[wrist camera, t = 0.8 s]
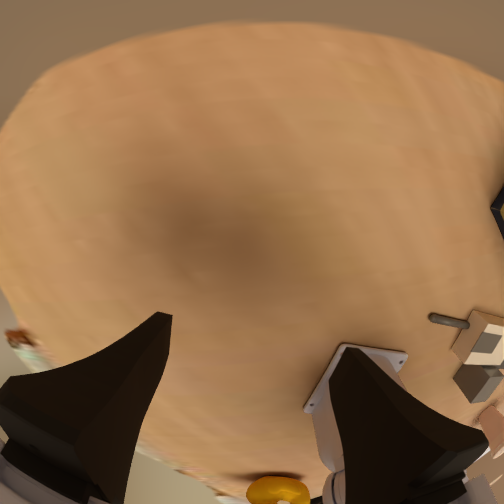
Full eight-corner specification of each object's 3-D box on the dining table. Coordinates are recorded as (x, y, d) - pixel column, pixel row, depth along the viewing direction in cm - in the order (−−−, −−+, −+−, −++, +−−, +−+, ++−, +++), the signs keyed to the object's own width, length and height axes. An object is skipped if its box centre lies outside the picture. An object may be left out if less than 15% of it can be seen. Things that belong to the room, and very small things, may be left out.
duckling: (231, 481, 32) (228, 532, 23) (235, 468, 31) (231, 526, 21) (302, 483, 33) (306, 532, 23) (311, 470, 31) (318, 524, 22)
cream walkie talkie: (488, 352, 24) (501, 366, 21) (413, 343, 23) (427, 364, 20) (507, 319, 23) (522, 332, 19) (436, 299, 22) (455, 317, 18)
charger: (468, 378, 26) (485, 401, 21) (452, 378, 25) (470, 403, 21) (489, 346, 24) (509, 368, 19) (474, 344, 24) (496, 368, 19)
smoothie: (481, 407, 28) (514, 461, 15) (503, 395, 28) (536, 443, 15) (467, 429, 30) (495, 480, 17) (489, 417, 30) (517, 463, 17)
